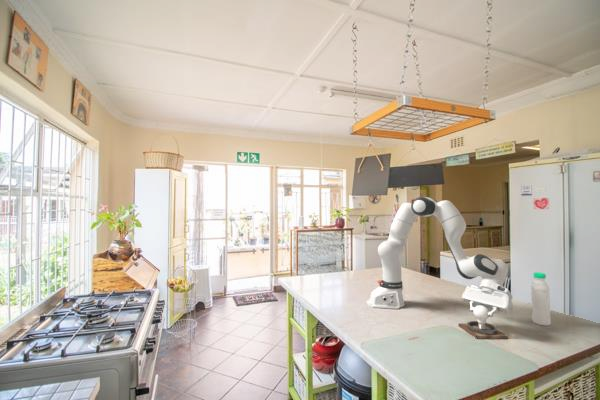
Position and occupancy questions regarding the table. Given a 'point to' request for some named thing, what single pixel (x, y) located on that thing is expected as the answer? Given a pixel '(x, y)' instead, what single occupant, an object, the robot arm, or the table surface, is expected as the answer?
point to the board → (482, 336)
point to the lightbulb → (481, 315)
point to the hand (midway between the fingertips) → (480, 313)
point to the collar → (482, 330)
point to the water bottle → (540, 300)
